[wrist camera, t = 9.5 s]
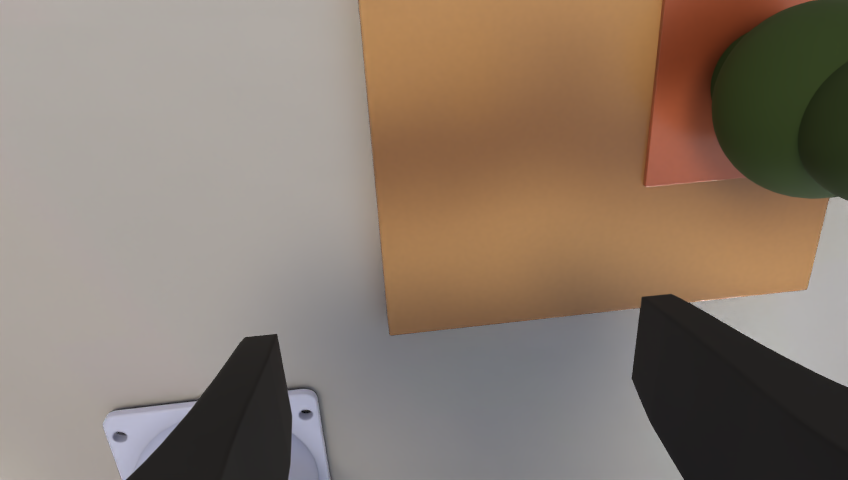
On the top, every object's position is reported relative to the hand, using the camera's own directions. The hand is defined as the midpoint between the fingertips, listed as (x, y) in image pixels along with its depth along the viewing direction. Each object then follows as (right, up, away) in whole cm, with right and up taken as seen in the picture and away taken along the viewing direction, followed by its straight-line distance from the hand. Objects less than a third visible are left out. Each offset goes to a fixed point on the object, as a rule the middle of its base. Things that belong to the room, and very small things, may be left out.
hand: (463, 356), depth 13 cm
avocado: (+10, +7, +8) cm, 15 cm away
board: (+5, +5, +10) cm, 12 cm away
